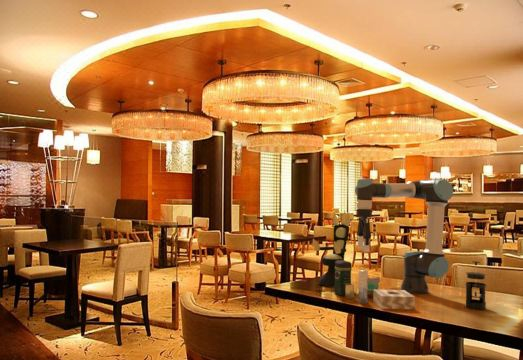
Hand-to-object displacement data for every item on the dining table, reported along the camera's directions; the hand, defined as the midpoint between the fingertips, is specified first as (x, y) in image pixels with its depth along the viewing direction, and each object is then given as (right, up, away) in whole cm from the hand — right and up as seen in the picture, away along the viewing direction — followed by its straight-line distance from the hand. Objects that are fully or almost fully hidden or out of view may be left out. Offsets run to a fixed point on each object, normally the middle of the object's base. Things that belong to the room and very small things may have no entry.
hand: (363, 250), depth 233 cm
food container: (+7, -27, +14) cm, 32 cm away
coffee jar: (-8, -27, +17) cm, 33 cm away
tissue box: (+14, -27, -6) cm, 30 cm away
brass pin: (-6, -27, +8) cm, 28 cm away
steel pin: (-1, -26, -1) cm, 26 cm away
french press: (+54, -28, -8) cm, 61 cm away
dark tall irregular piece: (-8, -28, +45) cm, 54 cm away
